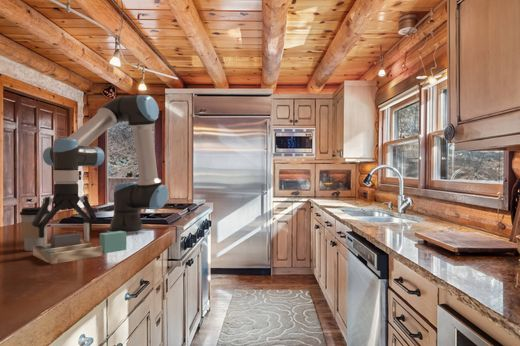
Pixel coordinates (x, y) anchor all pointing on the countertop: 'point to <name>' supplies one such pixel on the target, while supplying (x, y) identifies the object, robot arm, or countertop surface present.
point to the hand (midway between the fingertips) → (66, 243)
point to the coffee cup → (31, 227)
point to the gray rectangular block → (65, 240)
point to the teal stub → (113, 241)
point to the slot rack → (67, 252)
